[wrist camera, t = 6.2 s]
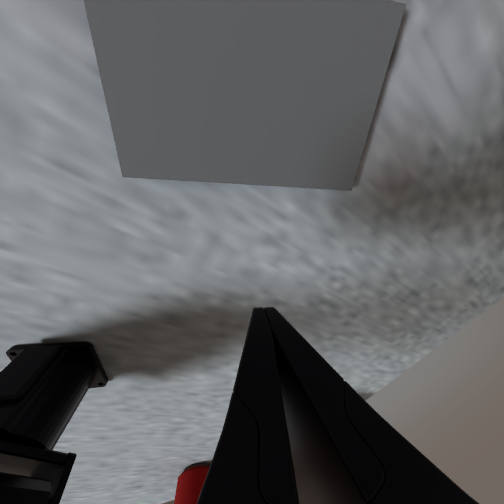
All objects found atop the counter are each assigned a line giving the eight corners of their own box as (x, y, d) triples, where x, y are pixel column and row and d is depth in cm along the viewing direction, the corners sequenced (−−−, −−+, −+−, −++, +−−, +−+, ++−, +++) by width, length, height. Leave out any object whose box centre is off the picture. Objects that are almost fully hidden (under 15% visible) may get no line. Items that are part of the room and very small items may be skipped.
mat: (345, 188, 14) (351, 190, 13) (128, 175, 12) (122, 176, 11) (393, 15, 10) (406, 4, 9) (81, -54, 8) (67, -75, 7)
